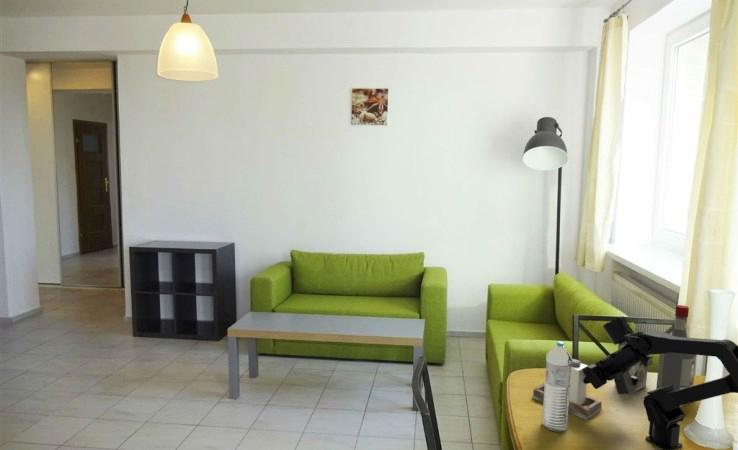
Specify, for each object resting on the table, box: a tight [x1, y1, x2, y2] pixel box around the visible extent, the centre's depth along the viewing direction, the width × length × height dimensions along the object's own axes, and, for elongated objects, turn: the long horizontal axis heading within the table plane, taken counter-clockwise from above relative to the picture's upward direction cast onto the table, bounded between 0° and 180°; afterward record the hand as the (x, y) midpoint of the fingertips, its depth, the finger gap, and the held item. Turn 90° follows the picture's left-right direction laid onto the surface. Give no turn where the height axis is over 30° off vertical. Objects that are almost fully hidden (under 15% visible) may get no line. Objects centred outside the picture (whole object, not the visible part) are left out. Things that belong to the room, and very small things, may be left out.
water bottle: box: [541, 340, 573, 433], centre depth 145 cm, size 7×7×25 cm
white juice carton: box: [569, 358, 589, 405], centre depth 159 cm, size 6×6×13 cm
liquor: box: [655, 304, 697, 390], centre depth 167 cm, size 9×9×30 cm
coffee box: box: [614, 343, 649, 393], centre depth 174 cm, size 9×6×16 cm
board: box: [531, 382, 603, 420], centre depth 161 cm, size 18×10×3 cm, turn 42°
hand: (584, 382), depth 157 cm, fingers closed, pressing on white juice carton
